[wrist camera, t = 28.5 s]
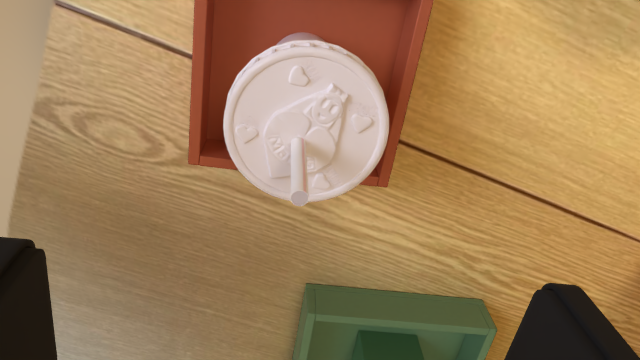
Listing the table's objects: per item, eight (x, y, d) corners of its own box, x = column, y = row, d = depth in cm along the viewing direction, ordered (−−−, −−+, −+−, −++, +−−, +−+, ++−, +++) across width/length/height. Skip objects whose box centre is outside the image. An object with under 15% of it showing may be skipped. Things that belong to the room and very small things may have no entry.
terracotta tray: (197, 142, 29) (187, 164, 27) (207, -64, 24) (196, -62, 22) (378, 164, 31) (387, 187, 28) (423, -27, 26) (439, -21, 23)
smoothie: (221, 78, 27) (161, 206, 15) (289, -21, 25) (285, 29, 12) (314, 141, 29) (329, 300, 17) (384, 54, 27) (462, 163, 14)
